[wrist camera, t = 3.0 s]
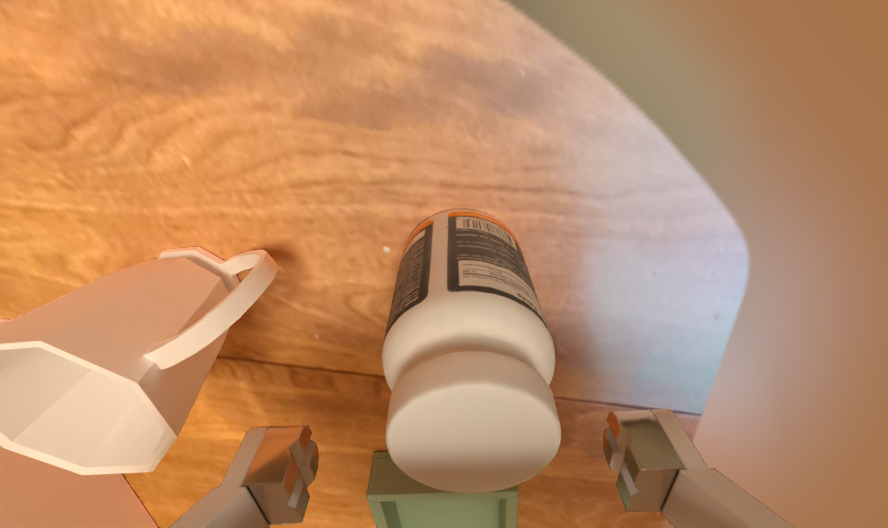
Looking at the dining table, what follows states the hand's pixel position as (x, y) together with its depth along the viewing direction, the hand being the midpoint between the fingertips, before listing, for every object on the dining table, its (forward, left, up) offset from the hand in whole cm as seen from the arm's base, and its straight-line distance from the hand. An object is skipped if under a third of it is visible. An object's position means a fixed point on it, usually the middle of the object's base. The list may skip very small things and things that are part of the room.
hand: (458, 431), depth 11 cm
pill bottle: (0, 0, -10) cm, 10 cm away
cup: (+12, 0, -10) cm, 15 cm away
